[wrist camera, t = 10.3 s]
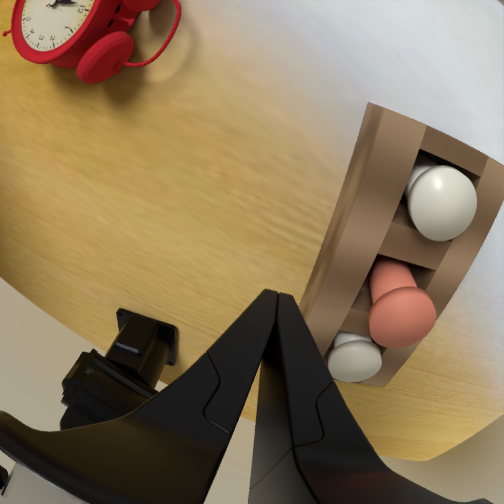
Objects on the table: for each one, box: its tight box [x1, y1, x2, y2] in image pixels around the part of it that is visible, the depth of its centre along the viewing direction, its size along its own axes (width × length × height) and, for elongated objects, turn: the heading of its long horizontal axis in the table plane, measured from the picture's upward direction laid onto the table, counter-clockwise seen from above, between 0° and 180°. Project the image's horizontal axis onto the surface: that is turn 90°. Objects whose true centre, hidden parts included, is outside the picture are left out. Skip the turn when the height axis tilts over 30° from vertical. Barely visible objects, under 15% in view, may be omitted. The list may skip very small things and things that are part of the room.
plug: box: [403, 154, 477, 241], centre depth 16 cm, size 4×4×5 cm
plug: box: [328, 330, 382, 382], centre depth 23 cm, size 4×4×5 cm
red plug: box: [367, 255, 436, 348], centre depth 18 cm, size 4×4×5 cm
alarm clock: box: [3, 0, 181, 84], centre depth 13 cm, size 10×6×15 cm
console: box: [298, 102, 504, 387], centre depth 20 cm, size 20×9×4 cm, turn 169°
